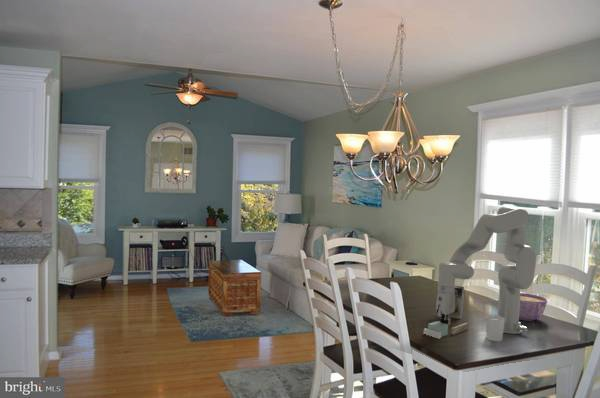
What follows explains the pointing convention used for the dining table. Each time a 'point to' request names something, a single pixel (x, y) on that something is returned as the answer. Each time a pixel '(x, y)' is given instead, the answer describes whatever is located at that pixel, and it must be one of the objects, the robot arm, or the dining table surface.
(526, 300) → the bowl of food
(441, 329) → the block
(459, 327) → the channel
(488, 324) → the white cup
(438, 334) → the stop bar
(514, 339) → the dining table surface
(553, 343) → the dining table surface
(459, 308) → the coffee box
